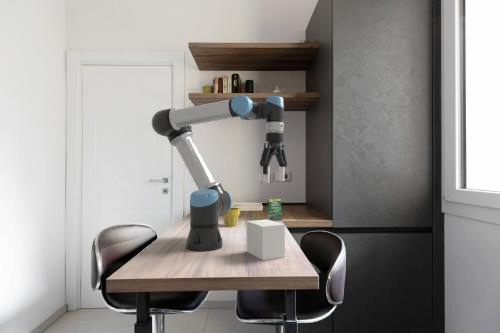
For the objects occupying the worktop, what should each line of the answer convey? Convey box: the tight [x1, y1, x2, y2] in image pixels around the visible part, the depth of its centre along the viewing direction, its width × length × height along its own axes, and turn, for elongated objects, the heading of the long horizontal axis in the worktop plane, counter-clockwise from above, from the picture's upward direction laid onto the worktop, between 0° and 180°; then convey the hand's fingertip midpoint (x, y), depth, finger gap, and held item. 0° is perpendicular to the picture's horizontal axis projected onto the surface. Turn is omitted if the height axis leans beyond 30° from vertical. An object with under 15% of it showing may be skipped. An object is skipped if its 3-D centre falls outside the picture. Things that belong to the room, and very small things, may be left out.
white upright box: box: [246, 218, 286, 261], centre depth 124 cm, size 9×13×12 cm
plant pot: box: [222, 206, 241, 228], centre depth 184 cm, size 10×10×10 cm
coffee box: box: [267, 198, 282, 221], centre depth 203 cm, size 8×3×13 cm, turn 101°
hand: (274, 181), depth 141 cm, fingers open, 13 cm apart
